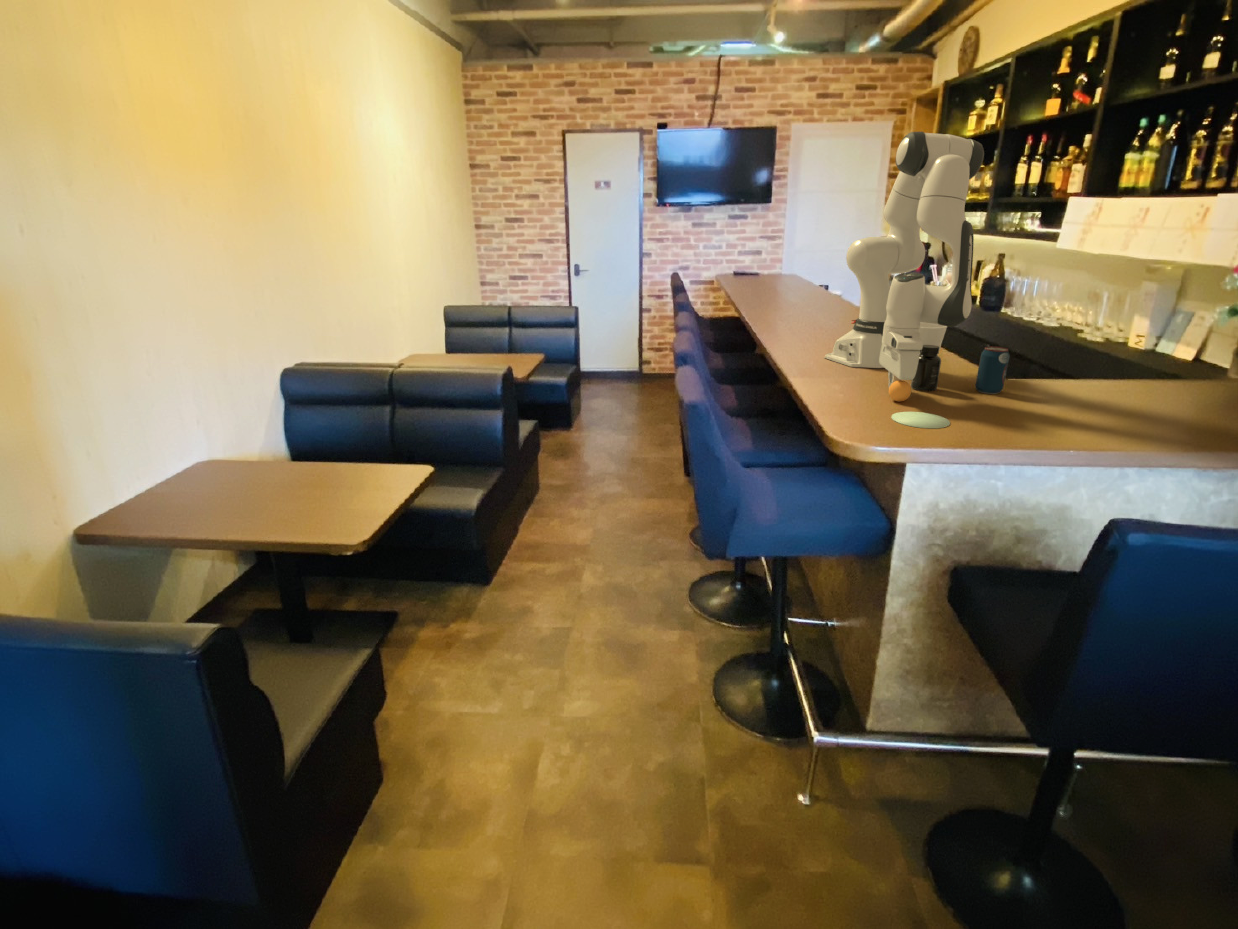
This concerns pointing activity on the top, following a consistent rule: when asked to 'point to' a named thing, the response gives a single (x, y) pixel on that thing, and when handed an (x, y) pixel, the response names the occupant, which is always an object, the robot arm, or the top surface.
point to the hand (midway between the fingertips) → (893, 388)
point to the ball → (899, 390)
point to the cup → (932, 334)
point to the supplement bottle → (927, 369)
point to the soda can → (992, 370)
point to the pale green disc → (920, 420)
